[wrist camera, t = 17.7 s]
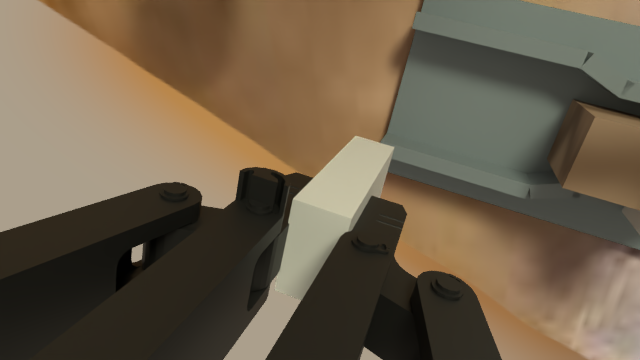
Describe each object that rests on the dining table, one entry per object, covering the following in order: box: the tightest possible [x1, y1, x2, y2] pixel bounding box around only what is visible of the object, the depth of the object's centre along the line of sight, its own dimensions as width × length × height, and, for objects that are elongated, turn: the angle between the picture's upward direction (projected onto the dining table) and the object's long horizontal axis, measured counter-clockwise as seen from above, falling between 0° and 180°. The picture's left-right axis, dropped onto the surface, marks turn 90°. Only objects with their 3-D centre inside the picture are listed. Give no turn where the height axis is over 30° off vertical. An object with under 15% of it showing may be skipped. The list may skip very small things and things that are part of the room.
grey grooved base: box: [381, 0, 640, 250], centre depth 32 cm, size 16×24×11 cm, turn 77°
